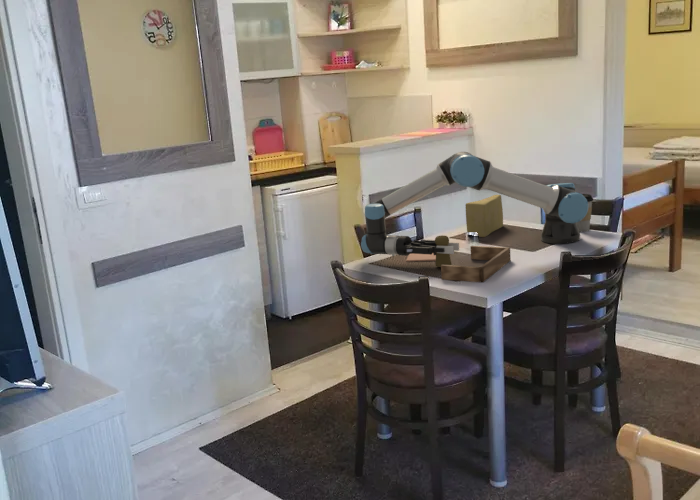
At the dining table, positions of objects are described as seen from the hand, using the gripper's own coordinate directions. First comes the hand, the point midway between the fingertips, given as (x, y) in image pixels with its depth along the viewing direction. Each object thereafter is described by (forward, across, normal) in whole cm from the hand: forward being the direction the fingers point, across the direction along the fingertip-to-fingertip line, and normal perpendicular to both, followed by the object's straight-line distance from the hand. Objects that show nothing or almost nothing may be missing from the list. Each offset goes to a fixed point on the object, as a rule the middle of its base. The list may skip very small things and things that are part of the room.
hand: (455, 248), depth 250 cm
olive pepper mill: (-5, 0, -7) cm, 9 cm away
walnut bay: (+7, 0, -8) cm, 10 cm away
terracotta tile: (-18, -14, -8) cm, 24 cm away
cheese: (-9, -59, -8) cm, 60 cm away
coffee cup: (+29, -66, -8) cm, 73 cm away
